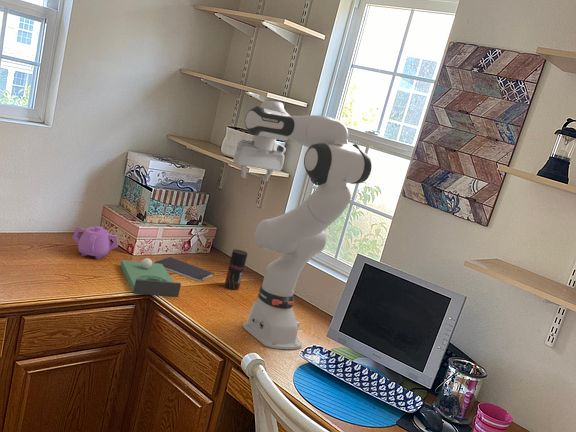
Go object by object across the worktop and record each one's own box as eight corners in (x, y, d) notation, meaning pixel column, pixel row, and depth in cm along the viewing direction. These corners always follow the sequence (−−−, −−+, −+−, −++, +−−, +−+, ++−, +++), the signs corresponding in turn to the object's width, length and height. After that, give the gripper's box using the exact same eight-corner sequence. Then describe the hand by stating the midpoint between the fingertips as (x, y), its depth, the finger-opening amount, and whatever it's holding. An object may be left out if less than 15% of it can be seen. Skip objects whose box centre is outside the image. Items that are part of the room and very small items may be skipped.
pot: (75, 244, 242) (80, 216, 239) (118, 253, 244) (124, 226, 242) (64, 257, 224) (69, 227, 222) (110, 266, 227) (116, 237, 225)
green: (178, 296, 214) (181, 283, 213) (133, 293, 206) (136, 280, 205) (160, 269, 237) (163, 257, 236) (120, 265, 230) (122, 253, 229)
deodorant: (236, 291, 235) (245, 255, 232) (222, 287, 236) (231, 251, 233) (240, 287, 240) (249, 252, 238) (226, 283, 241) (235, 248, 238)
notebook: (212, 276, 247) (169, 260, 253) (213, 273, 246) (170, 256, 253) (198, 283, 235) (152, 265, 241) (199, 279, 235) (153, 262, 241)
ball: (152, 270, 226) (154, 260, 225) (141, 269, 224) (143, 259, 223) (149, 266, 230) (151, 257, 229) (139, 265, 228) (141, 256, 227)
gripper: (243, 140, 212) (234, 177, 215) (289, 149, 224) (280, 184, 227) (235, 137, 217) (226, 173, 220) (280, 145, 229) (271, 180, 232)
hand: (254, 179), depth 223 cm, fingers open, 8 cm apart
